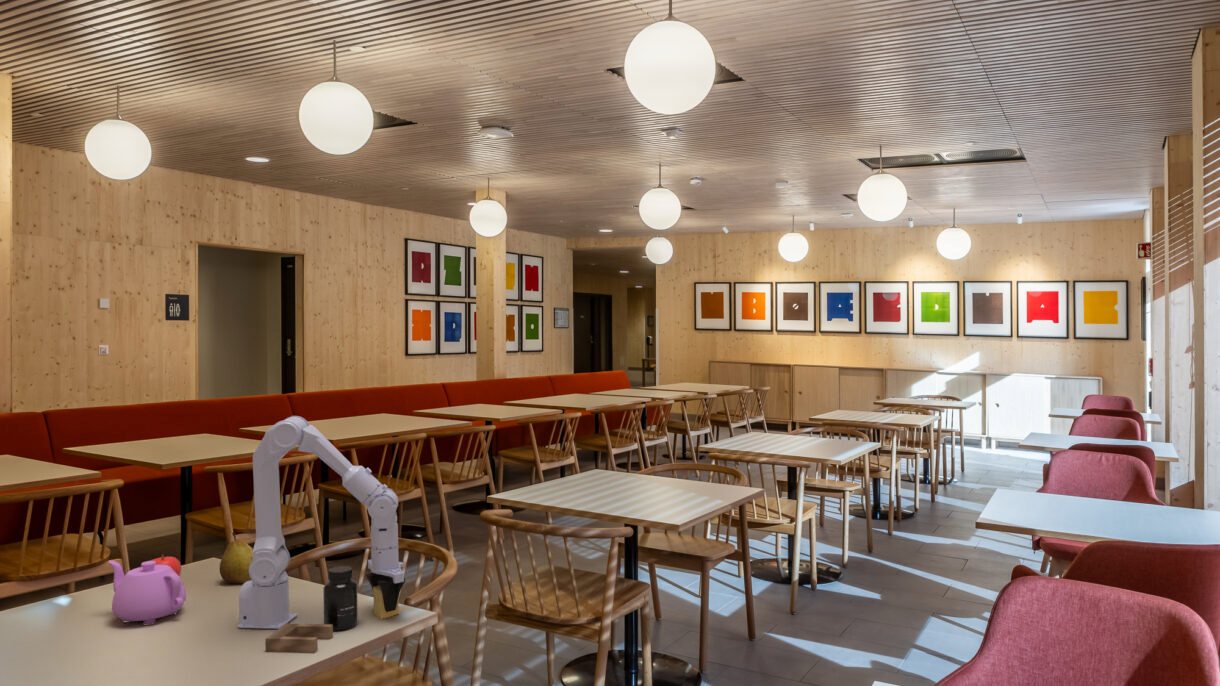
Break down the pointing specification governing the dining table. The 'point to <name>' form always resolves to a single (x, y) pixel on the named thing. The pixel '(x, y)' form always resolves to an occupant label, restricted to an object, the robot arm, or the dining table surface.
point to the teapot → (146, 592)
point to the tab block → (382, 604)
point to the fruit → (236, 562)
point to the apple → (169, 563)
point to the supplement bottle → (340, 599)
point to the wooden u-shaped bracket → (298, 637)
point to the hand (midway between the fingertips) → (386, 607)
